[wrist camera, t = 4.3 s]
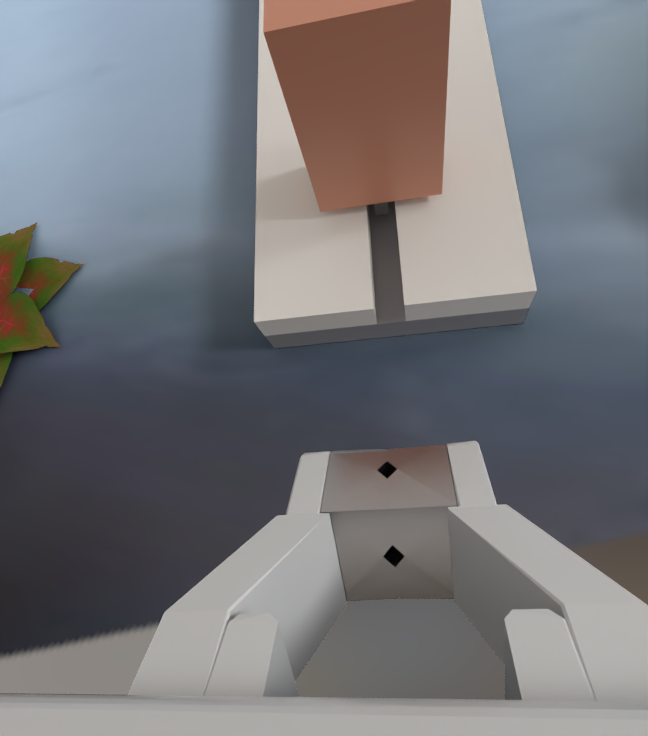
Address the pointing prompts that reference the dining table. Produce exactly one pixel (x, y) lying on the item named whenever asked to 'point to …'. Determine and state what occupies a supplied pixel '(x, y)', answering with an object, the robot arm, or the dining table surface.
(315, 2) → the fader
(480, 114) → the white slider track base
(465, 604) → the robot arm
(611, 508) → the dining table surface
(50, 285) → the lily flower
